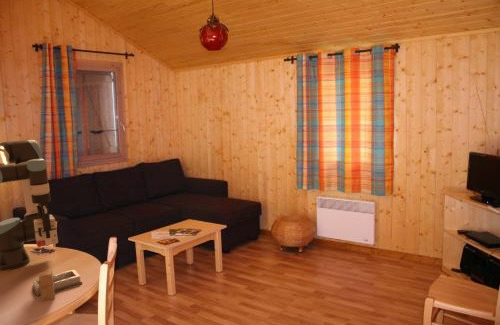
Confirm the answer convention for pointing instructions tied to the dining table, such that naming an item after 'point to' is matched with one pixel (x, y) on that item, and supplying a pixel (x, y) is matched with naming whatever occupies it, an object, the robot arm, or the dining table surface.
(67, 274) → the rail plate
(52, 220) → the ink box
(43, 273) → the box
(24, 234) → the robot arm
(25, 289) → the dining table surface
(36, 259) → the dining table surface
